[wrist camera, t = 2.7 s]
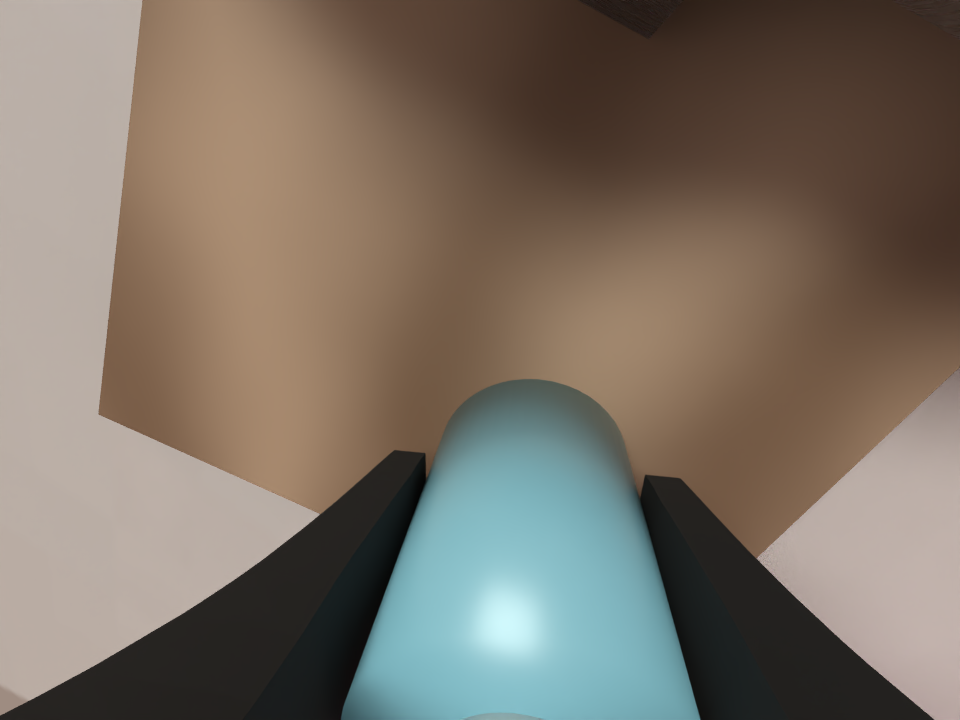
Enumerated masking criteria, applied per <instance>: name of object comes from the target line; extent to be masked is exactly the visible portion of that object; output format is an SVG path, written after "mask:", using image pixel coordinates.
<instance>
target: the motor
mask: <svg viewBox="0 0 960 720" xmlns="http://www.w3.org/2000/svg"><path fill="white" fill-rule="evenodd" d="M578 1H580V2H582V3H583V4H585V5H587V6H589V7H591V8H592V9H594V10H596V11H598V12H600V13H601V14H603V15H605V16H607V17H609V18H611V19H612V20H614V21H616V22H618V23H620V24H621V25H623V26H625V27H627V28H629V29H631V30H632V31H634V32H636V33H638V34H640V35H641V36H643V37H645V38H647V39H649V38H650V37H651V36H652V35H653V34H654V33H655V32H656V30H657V29H658V28H659V27H660V26H661V25H662V24H663V23H664V22H665V20H666V19H667V18H668V17H669V16H670V15H671V14H672V13H673V12H674V10H675V9H676V8H677V7H678V6H679V5H680V4H681V3H682V2H683V0H578ZM892 1H894V2H895V3H897V4H899V5H901V6H902V7H904V8H906V9H907V10H909V11H911V12H913V13H914V14H916V15H918V16H920V17H921V18H923V19H925V20H926V21H928V22H930V23H932V24H933V25H935V26H937V27H938V28H940V29H942V30H944V31H945V32H947V33H949V34H951V35H952V36H954V37H956V38H957V39H959V40H960V0H892Z"/></svg>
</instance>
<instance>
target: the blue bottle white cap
mask: <svg viewBox="0 0 960 720" xmlns="http://www.w3.org/2000/svg"><path fill="white" fill-rule="evenodd" d="M341 720H700V716H699V713H698V709H697V705H696V702H695V698H694V694H693V691H692V687H691V684H690V680H689V676H688V673H687V669H686V665H685V662H684V658H683V654H682V651H681V647H680V643H679V640H678V636H677V632H676V629H675V625H674V622H673V618H672V614H671V611H670V607H669V603H668V600H667V596H666V592H665V589H664V585H663V581H662V578H661V574H660V571H659V567H658V563H657V560H656V556H655V552H654V549H653V545H652V541H651V538H650V534H649V530H648V527H647V523H646V519H645V516H644V512H643V509H642V505H641V501H640V498H639V494H638V490H637V487H636V483H635V479H634V476H633V472H632V468H631V465H630V461H629V458H628V454H627V450H626V447H625V443H624V440H623V437H622V435H621V432H620V430H619V428H618V426H617V425H616V423H615V421H614V420H613V419H612V417H611V416H610V415H609V413H608V412H607V411H606V410H605V409H604V408H603V407H602V406H601V405H600V404H599V403H597V402H596V401H595V400H593V399H592V398H591V397H589V396H588V395H586V394H584V393H582V392H581V391H579V390H577V389H574V388H572V387H569V386H567V385H564V384H560V383H557V382H553V381H547V380H540V379H520V380H511V381H506V382H501V383H498V384H495V385H492V386H489V387H487V388H485V389H483V390H481V391H479V392H477V393H476V394H474V395H473V396H471V397H470V398H468V399H467V400H466V401H465V402H464V403H463V404H461V405H460V406H459V408H458V409H457V410H456V411H455V412H454V413H453V415H452V417H451V418H450V420H449V421H448V423H447V425H446V428H445V430H444V433H443V435H442V438H441V441H440V443H439V446H438V449H437V452H436V454H435V457H434V460H433V463H432V465H431V468H430V471H429V474H428V476H427V479H426V482H425V484H424V487H423V490H422V493H421V495H420V498H419V501H418V504H417V506H416V509H415V512H414V515H413V517H412V520H411V523H410V526H409V528H408V531H407V534H406V536H405V539H404V542H403V545H402V547H401V550H400V553H399V556H398V558H397V561H396V564H395V567H394V569H393V572H392V575H391V578H390V580H389V583H388V586H387V588H386V591H385V594H384V597H383V599H382V602H381V605H380V608H379V610H378V613H377V616H376V619H375V621H374V624H373V627H372V630H371V632H370V635H369V638H368V640H367V643H366V646H365V649H364V651H363V654H362V657H361V660H360V662H359V665H358V668H357V671H356V673H355V676H354V679H353V682H352V684H351V687H350V690H349V692H348V695H347V698H346V701H345V703H344V706H343V711H342V716H341Z"/></svg>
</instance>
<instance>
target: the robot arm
mask: <svg viewBox="0 0 960 720" xmlns="http://www.w3.org/2000/svg"><path fill="white" fill-rule="evenodd" d="M425 482H426V453H421V452H411V451H400V450H394V451H393V452H391V453H390V454H389V455H388V456H387V457H385V458H384V459H383V460H382V461H381V462H380V463H379V464H377V465H376V466H375V467H374V468H373V469H372V470H371V471H370V472H369V473H367V474H366V475H365V476H364V477H363V478H362V479H361V480H360V481H358V482H357V483H356V484H355V485H354V486H353V487H352V488H351V489H349V490H348V491H347V492H346V493H345V494H344V495H343V496H341V497H340V498H339V499H338V500H337V501H336V502H334V503H333V504H332V505H331V506H330V507H328V508H327V509H326V510H325V511H324V512H323V513H321V514H320V515H319V516H318V517H317V518H315V519H314V520H313V521H312V522H311V523H309V524H308V525H307V526H306V527H304V528H303V529H302V530H301V531H299V532H298V533H297V534H295V535H294V536H293V537H292V538H290V539H289V540H288V541H286V542H285V543H284V544H283V545H281V546H280V547H279V548H277V549H276V550H275V551H274V552H272V553H271V554H270V555H268V556H267V557H266V558H264V559H263V560H262V561H260V562H259V563H258V564H256V565H255V566H253V567H252V568H251V569H249V570H248V571H247V572H245V573H244V574H242V575H241V576H239V577H238V578H237V579H235V580H234V581H232V582H231V583H229V584H228V585H226V586H225V587H223V588H222V589H220V590H219V591H217V592H216V593H214V594H213V595H211V596H210V597H208V598H207V599H205V600H203V601H202V602H200V603H199V604H197V605H196V606H194V607H193V608H191V609H190V610H188V611H186V612H185V613H183V614H182V615H180V616H178V617H177V618H175V619H173V620H172V621H170V622H168V623H166V624H165V625H163V626H161V627H160V628H158V629H156V630H155V631H153V632H151V633H150V634H148V635H146V636H144V637H143V638H141V639H139V640H138V641H136V642H134V643H133V644H131V645H129V646H127V647H126V648H124V649H122V650H121V651H119V652H117V653H116V654H114V655H112V656H110V657H109V658H107V659H105V660H104V661H102V662H100V663H99V664H97V665H95V666H93V667H91V668H90V669H88V670H86V671H84V672H82V673H80V674H79V675H77V676H75V677H73V678H71V679H69V680H67V681H66V682H64V683H62V684H60V685H58V686H56V687H54V688H53V689H51V690H49V691H47V692H45V693H43V694H41V695H40V696H38V697H36V698H34V699H32V700H30V701H28V702H26V703H24V704H23V705H20V706H18V707H16V708H14V709H13V710H11V711H9V712H7V713H5V714H3V715H1V716H0V720H341V716H342V711H343V706H344V703H345V701H346V698H347V695H348V692H349V690H350V687H351V684H352V682H353V679H354V676H355V673H356V671H357V668H358V665H359V662H360V660H361V657H362V654H363V651H364V649H365V646H366V643H367V640H368V638H369V635H370V632H371V630H372V627H373V624H374V621H375V619H376V616H377V613H378V610H379V608H380V605H381V602H382V599H383V597H384V594H385V591H386V588H387V586H388V583H389V580H390V578H391V575H392V572H393V569H394V567H395V564H396V561H397V558H398V556H399V553H400V550H401V547H402V545H403V542H404V539H405V536H406V534H407V531H408V528H409V526H410V523H411V520H412V517H413V515H414V512H415V509H416V506H417V504H418V501H419V498H420V495H421V493H422V490H423V487H424V484H425ZM640 501H641V505H642V509H643V512H644V516H645V519H646V523H647V527H648V530H649V534H650V538H651V541H652V545H653V549H654V552H655V556H656V560H657V563H658V567H659V571H660V574H661V578H662V581H663V585H664V589H665V592H666V596H667V600H668V603H669V607H670V611H671V614H672V618H673V622H674V625H675V629H676V632H677V636H678V640H679V643H680V647H681V651H682V654H683V658H684V662H685V665H686V669H687V673H688V676H689V680H690V684H691V687H692V691H693V694H694V698H695V702H696V705H697V709H698V713H699V716H700V720H934V719H933V718H932V717H930V716H929V715H928V714H927V713H926V712H924V711H923V710H922V709H921V708H920V707H918V706H917V705H916V704H915V703H914V702H913V701H911V700H910V699H909V698H908V697H907V696H905V695H904V694H903V693H902V692H901V691H899V690H898V689H897V688H896V687H895V686H893V685H892V684H891V683H890V682H889V681H888V680H886V679H885V678H884V677H883V676H882V675H880V674H879V673H878V672H877V671H876V670H874V669H873V668H872V667H871V666H870V665H869V664H867V663H866V662H865V661H864V660H863V659H862V658H861V657H860V656H858V655H857V654H856V653H855V652H854V651H853V650H852V649H850V648H849V647H848V646H847V645H846V644H845V643H844V642H843V641H842V640H840V639H839V638H838V637H837V636H836V635H835V634H834V633H833V632H832V631H831V630H830V629H829V628H827V627H826V626H825V625H824V624H823V623H822V622H821V621H820V620H819V619H818V618H817V617H816V616H815V615H814V614H812V613H811V612H810V611H809V610H808V609H807V608H806V607H805V606H804V605H803V604H802V603H801V602H800V601H799V600H797V599H796V598H795V597H794V596H793V595H792V594H791V593H790V592H789V591H788V590H787V589H786V588H785V587H784V586H783V585H782V584H781V583H780V582H779V581H778V580H777V579H776V578H775V577H774V576H773V575H772V574H771V573H770V572H769V571H768V570H767V569H766V568H765V567H764V566H763V565H762V564H761V563H760V562H759V561H758V560H757V559H756V558H755V557H754V556H753V555H752V554H751V553H750V552H749V551H748V550H747V549H746V547H745V546H744V545H743V544H742V543H741V542H740V541H739V540H738V539H737V538H736V537H735V536H734V535H733V534H732V533H731V532H730V531H729V530H728V529H727V527H726V526H725V525H724V524H723V523H722V522H721V521H720V520H719V519H718V518H717V517H716V516H715V515H714V514H713V512H712V511H711V510H710V509H709V508H708V507H707V506H706V505H705V504H704V503H703V502H702V501H701V499H700V498H699V497H698V496H697V495H696V494H695V493H694V492H693V491H692V490H691V489H690V488H689V487H688V486H687V484H686V483H685V482H684V481H683V480H682V479H681V478H675V477H665V476H655V475H645V477H644V482H643V487H642V492H641V496H640Z"/></svg>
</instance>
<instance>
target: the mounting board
mask: <svg viewBox="0 0 960 720" xmlns="http://www.w3.org/2000/svg"><path fill="white" fill-rule="evenodd" d="M959 367H960V40H959V39H957V38H956V37H954V36H952V35H951V34H949V33H947V32H945V31H944V30H942V29H940V28H938V27H937V26H935V25H933V24H932V23H930V22H928V21H926V20H925V19H923V18H921V17H920V16H918V15H916V14H914V13H913V12H911V11H909V10H907V9H906V8H904V7H902V6H901V5H899V4H897V3H895V2H894V1H892V0H683V2H682V3H681V4H680V5H679V6H678V7H677V8H676V9H675V10H674V12H673V13H672V14H671V15H670V16H669V17H668V18H667V19H666V20H665V22H664V23H663V24H662V25H661V26H660V27H659V28H658V29H657V30H656V32H655V33H654V34H653V35H652V36H651V37H650V38H649V39H647V38H645V37H643V36H641V35H640V34H638V33H636V32H634V31H632V30H631V29H629V28H627V27H625V26H623V25H621V24H620V23H618V22H616V21H614V20H612V19H611V18H609V17H607V16H605V15H603V14H601V13H600V12H598V11H596V10H594V9H592V8H591V7H589V6H587V5H585V4H583V3H582V2H580V1H578V0H143V1H142V11H141V20H140V29H139V39H138V48H137V58H136V67H135V76H134V86H133V95H132V104H131V114H130V123H129V133H128V142H127V151H126V161H125V170H124V179H123V189H122V198H121V208H120V217H119V226H118V236H117V245H116V254H115V264H114V273H113V283H112V292H111V301H110V311H109V320H108V329H107V339H106V348H105V358H104V367H103V376H102V386H101V395H100V405H99V415H101V416H103V417H106V418H108V419H110V420H112V421H114V422H117V423H119V424H121V425H123V426H126V427H128V428H130V429H132V430H135V431H137V432H139V433H141V434H143V435H146V436H148V437H150V438H152V439H155V440H157V441H159V442H161V443H163V444H166V445H168V446H170V447H172V448H175V449H177V450H179V451H181V452H184V453H186V454H188V455H190V456H192V457H195V458H197V459H199V460H201V461H204V462H206V463H208V464H210V465H212V466H215V467H217V468H219V469H221V470H224V471H226V472H228V473H230V474H233V475H235V476H237V477H239V478H241V479H244V480H246V481H248V482H250V483H253V484H255V485H257V486H259V487H262V488H264V489H266V490H268V491H270V492H273V493H275V494H277V495H279V496H282V497H284V498H286V499H288V500H290V501H293V502H295V503H297V504H299V505H302V506H304V507H306V508H308V509H311V510H313V511H315V512H317V513H319V514H321V513H323V512H324V511H325V510H326V509H327V508H328V507H330V506H331V505H332V504H333V503H334V502H336V501H337V500H338V499H339V498H340V497H341V496H343V495H344V494H345V493H346V492H347V491H348V490H349V489H351V488H352V487H353V486H354V485H355V484H356V483H357V482H358V481H360V480H361V479H362V478H363V477H364V476H365V475H366V474H367V473H369V472H370V471H371V470H372V469H373V468H374V467H375V466H376V465H377V464H379V463H380V462H381V461H382V460H383V459H384V458H385V457H387V456H388V455H389V454H390V453H391V452H393V451H394V450H400V451H411V452H421V453H426V479H427V476H428V474H429V471H430V468H431V465H432V463H433V460H434V457H435V454H436V452H437V449H438V446H439V443H440V441H441V438H442V435H443V433H444V430H445V428H446V425H447V423H448V421H449V420H450V418H451V417H452V415H453V413H454V412H455V411H456V410H457V409H458V408H459V406H460V405H461V404H463V403H464V402H465V401H466V400H467V399H468V398H470V397H471V396H473V395H474V394H476V393H477V392H479V391H481V390H483V389H485V388H487V387H489V386H492V385H495V384H498V383H501V382H506V381H511V380H520V379H540V380H547V381H553V382H557V383H560V384H564V385H567V386H569V387H572V388H574V389H577V390H579V391H581V392H582V393H584V394H586V395H588V396H589V397H591V398H592V399H593V400H595V401H596V402H597V403H599V404H600V405H601V406H602V407H603V408H604V409H605V410H606V411H607V412H608V413H609V415H610V416H611V417H612V419H613V420H614V421H615V423H616V425H617V426H618V428H619V430H620V432H621V435H622V437H623V440H624V443H625V447H626V450H627V454H628V458H629V461H630V465H631V468H632V472H633V476H634V479H635V483H636V487H637V490H638V494H639V498H640V496H641V492H642V487H643V482H644V477H645V475H655V476H665V477H675V478H681V479H682V480H683V481H684V482H685V483H686V484H687V486H688V487H689V488H690V489H691V490H692V491H693V492H694V493H695V494H696V495H697V496H698V497H699V498H700V499H701V501H702V502H703V503H704V504H705V505H706V506H707V507H708V508H709V509H710V510H711V511H712V512H713V514H714V515H715V516H716V517H717V518H718V519H719V520H720V521H721V522H722V523H723V524H724V525H725V526H726V527H727V529H728V530H729V531H730V532H731V533H732V534H733V535H734V536H735V537H736V538H737V539H738V540H739V541H740V542H741V543H742V544H743V545H744V546H745V547H746V549H747V550H748V551H749V552H750V553H751V554H752V555H753V556H754V557H755V558H757V557H758V556H759V555H760V554H761V553H762V552H763V551H764V550H766V549H767V548H768V547H769V546H770V545H771V544H772V543H773V542H774V541H775V540H776V539H777V538H778V537H779V536H780V535H782V534H783V533H784V532H785V531H786V530H787V529H788V528H789V527H790V526H791V525H792V524H793V523H794V522H795V521H796V520H797V519H799V518H800V517H801V516H802V515H803V514H804V513H805V512H806V511H807V510H808V509H809V508H810V507H811V506H812V505H813V504H814V503H816V502H817V501H818V500H819V499H820V498H821V497H822V496H823V495H824V494H825V493H826V492H827V491H828V490H829V489H830V488H831V487H833V486H834V485H835V484H836V483H837V482H838V481H839V480H840V479H841V478H842V477H843V476H844V475H845V474H846V473H847V472H849V471H850V470H851V469H852V468H853V467H854V466H855V465H856V464H857V463H858V462H859V461H860V460H861V459H862V458H863V457H864V456H866V455H867V454H868V453H869V452H870V451H871V450H872V449H873V448H874V447H875V446H876V445H877V444H878V443H879V442H880V441H881V440H883V439H884V438H885V437H886V436H887V435H888V434H889V433H890V432H891V431H892V430H893V429H894V428H895V427H896V426H897V425H898V424H900V423H901V422H902V421H903V420H904V419H905V418H906V417H907V416H908V415H909V414H910V413H911V412H912V411H913V410H914V409H916V408H917V407H918V406H919V405H920V404H921V403H922V402H923V401H924V400H925V399H926V398H927V397H928V396H929V395H930V394H931V393H933V392H934V391H935V390H936V389H937V388H938V387H939V386H940V385H941V384H942V383H943V382H944V381H945V380H946V379H947V378H948V377H950V376H951V375H952V374H953V373H954V372H955V371H956V370H957V369H958V368H959Z"/></svg>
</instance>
